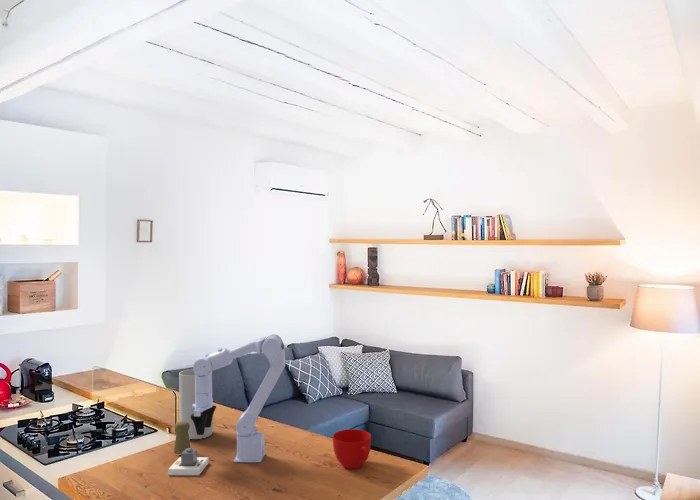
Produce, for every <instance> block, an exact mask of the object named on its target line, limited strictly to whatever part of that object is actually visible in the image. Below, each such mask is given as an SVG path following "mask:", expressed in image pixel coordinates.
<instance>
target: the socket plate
mask: <svg viewBox="0 0 700 500" xmlns="http://www.w3.org/2000/svg"><path fill="white" fill-rule="evenodd" d="M208 464H209V456H207V457H205V456H203V457H201V456H197V463H196V465H195V466H181V456H179V457H178V459H176V460H175V461H174V462H173V464H171V466H170V467H169V468H168V471H167V472H168V475H167V476H200V474H201V473H202V472H203V471H204V470H205V468H206V467H207V466H208Z"/></svg>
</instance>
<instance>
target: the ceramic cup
mask: <svg viewBox="0 0 700 500" xmlns="http://www.w3.org/2000/svg"><path fill="white" fill-rule="evenodd" d="M371 444H372V435H371V433H370V432H368V431H366V430H362V429H357V428H354V429H350V428H349V429H342V430H339V431H337V432H335V433H333V434H332V446H333V451H334V455H335V457H336V460H337V461H338V462H339V463H340V464H341V466H342V468H344V469H348V470H356V469H360V468H361V467H362V466H363V465H364V464H365V462H367V461H368V458H369V455H370V452H371Z"/></svg>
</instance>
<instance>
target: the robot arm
mask: <svg viewBox="0 0 700 500" xmlns="http://www.w3.org/2000/svg"><path fill="white" fill-rule="evenodd" d="M285 347H286V346H285V344H284V341H283V339H282V337H280V336H279V335H278V334H275V333H274V334H270V335H268V336H262V337H260V338H256V339H253V340H252V341H251V340H250V341H249V342H246V343H244V344H242V345H239V346H238V347H235V348H233V349H228V348H224V349H223V348H222V347H221V348H219V349H217V351H215V352H213V353H211V354H208V353H207V354H205V355H204V356H201V357H199V358H198V359H197V360H195V362H194V363H193V364H192V365H193V366H192V369H193V371H194V373H195V404H193V405H192V407H195V410H194V414H192V415H191V419H192V420H193V422H194V425H195V428H196V432H197V435H203V434H204V431H205V427H206V428H210V427H211V423H212V418H214V413H215V411H216V410H217V405H213V404H214V403H213V402H214V399H213V377H212V378H211V370H212V371H216V370H219V369H222V368H224V367H227V366H229V365H231V364H232V363H233V361H234V359H237V358H241V357H242V356H246V355H247V354H251V353H256V354H263V355H264V356H265V358H266V359H267V360H268V363H269V366H270V367H269V369H268V370H267V372H266V374H265V376H264V378H263V380H262V381H261V383H260V386H259V387H258V389H257V391H256V392H255V394H254V396H253V397H252V400H251V401H250V403H249V405H248V407H247V408H246V409H245V410H244V411H243V412H242V413H241V414H240V417H239V419H238V420H237V421H236V423H235V430H236V456H235V458H234V459H233V463H261V462H262V461H263V459H264V457H265V455H266V450H265V447H266V446H265V445H266V444H265V441H266V440H265V433H264V432H259V431H258V428H257V426H256V425H257V423H258V421H259V415H260V413H261V411H262V409H263V407H264V405H265V403H266V402H267V400H268V398H269V397H270V394H271V392H272V391H273V389H274V387H275V386H276V384H277V382H278V380H279V378H280V376H281V375H282V373H283V371H284V369H285V367H286V354H285V353H286V352H285Z"/></svg>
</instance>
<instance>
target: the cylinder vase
mask: <svg viewBox="0 0 700 500" xmlns="http://www.w3.org/2000/svg"><path fill="white" fill-rule="evenodd" d="M211 378H212V379H213V370H211ZM178 384H179V385H178V386H179V389H178V390H179V392H178V393H179V395H178V396H179V422H181V421H186V422H188V423H189V425H190V428H189V430H188V433H189V439H200V440H203V439H202V438H204V439H206V437H207V438H209V437H210V436H212V434H213V433H214V432H213V431H214V429H213V423H214V422H213V421H214V420H213V418H214V417H213V418H212V423H211V427H210V428H206V427H205V431H204V434H203V435H197V432H196V428H195V425H194V422H193V420H192V419H191V415H192V414H194V410H195V407H192V405H193V404H195V373H194V371H193V368H191V369H186V370H183V371H180V372H179V373H178Z"/></svg>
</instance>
